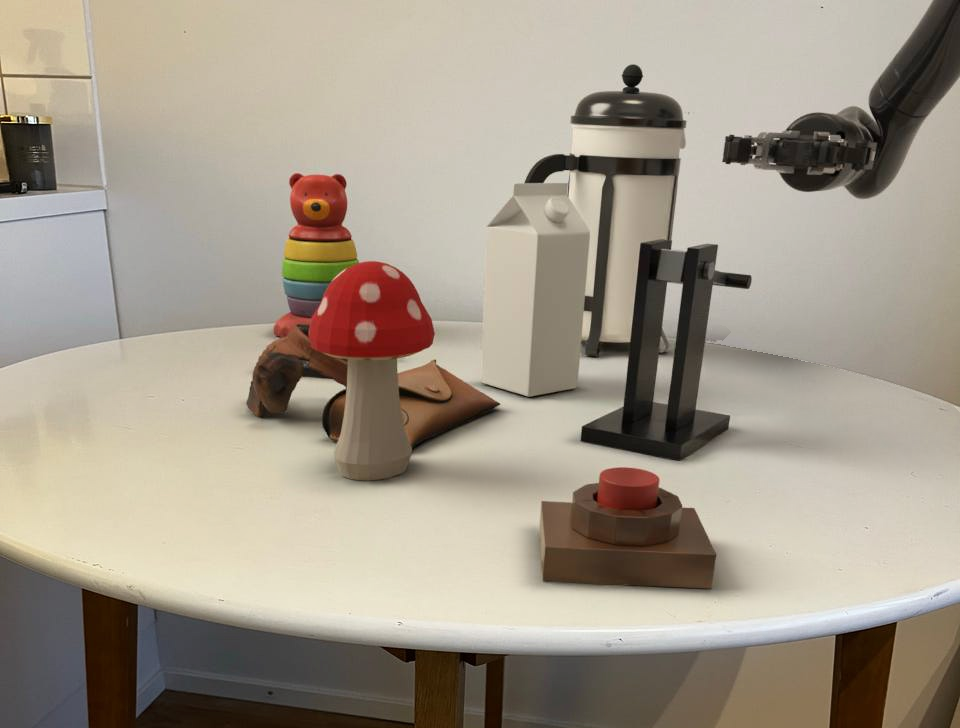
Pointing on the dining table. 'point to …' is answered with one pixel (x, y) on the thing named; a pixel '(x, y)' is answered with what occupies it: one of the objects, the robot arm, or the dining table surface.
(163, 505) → the dining table surface
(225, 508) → the dining table surface
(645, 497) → the red button
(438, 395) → the sunglasses case
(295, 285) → the stacking bear
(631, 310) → the coffee press
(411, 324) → the decorative mushroom
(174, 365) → the dining table surface
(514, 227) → the milk carton
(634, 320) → the lever stand
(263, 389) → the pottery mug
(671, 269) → the stand lever
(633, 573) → the button block
